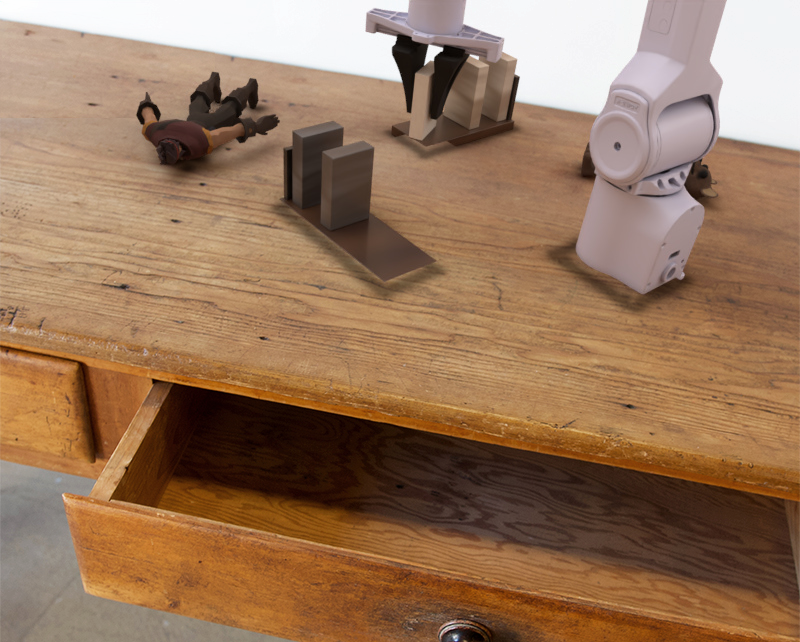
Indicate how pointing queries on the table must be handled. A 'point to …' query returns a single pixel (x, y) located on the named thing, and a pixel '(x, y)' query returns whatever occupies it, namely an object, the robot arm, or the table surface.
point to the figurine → (204, 122)
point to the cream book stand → (475, 103)
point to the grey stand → (344, 199)
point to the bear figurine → (694, 184)
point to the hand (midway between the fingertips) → (424, 113)
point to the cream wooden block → (422, 103)
